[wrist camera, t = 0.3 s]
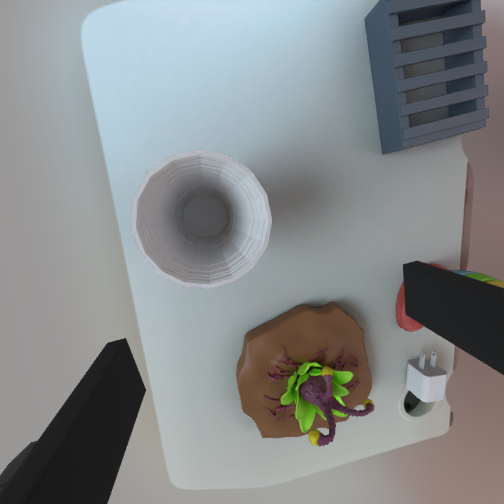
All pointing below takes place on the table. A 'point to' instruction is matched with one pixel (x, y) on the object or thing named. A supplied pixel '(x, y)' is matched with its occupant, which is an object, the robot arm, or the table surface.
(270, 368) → the plant
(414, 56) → the dish rack
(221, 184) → the plastic cup
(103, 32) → the table surface
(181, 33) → the table surface
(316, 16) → the table surface
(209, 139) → the table surface
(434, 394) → the usb wall charger
